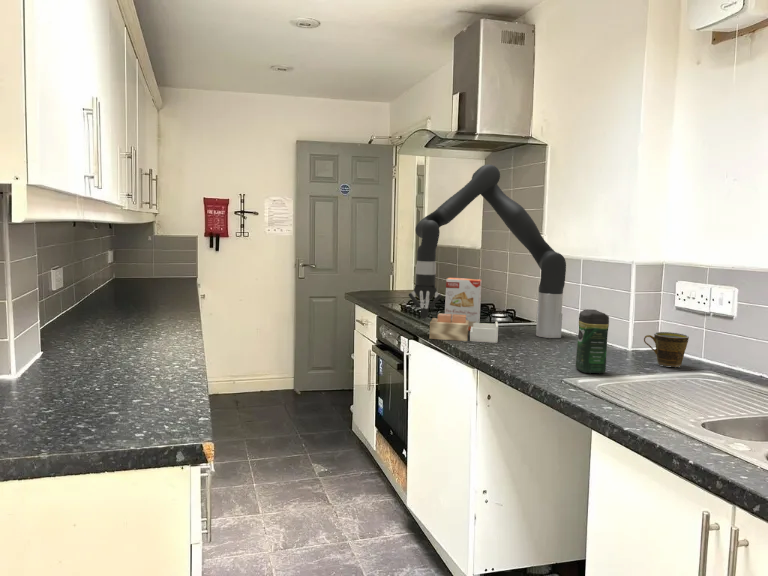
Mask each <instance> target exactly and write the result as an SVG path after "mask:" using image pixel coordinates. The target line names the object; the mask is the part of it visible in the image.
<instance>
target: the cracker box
mask: <svg viewBox="0 0 768 576" xmlns="http://www.w3.org/2000/svg"><path fill="white" fill-rule="evenodd" d="M445 281H446V283H445V302H444V314H452V316H453V314H460V315H466V320H469V327H468V332H470V331H471V327H473V323H481V322H480V320H481V319H480V317H481V303H482V302H481V300H482V281H483V280H482V279H475V278H463V277H462V278H461V277H447V278H446V279H445Z"/></svg>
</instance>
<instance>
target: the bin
mask: <svg viewBox="0 0 768 576" xmlns="http://www.w3.org/2000/svg"><path fill="white" fill-rule="evenodd" d="M498 335H499V322H498V321H495V323H485V322H484V323H481V322H480V323H473V327H471V331H469V342H474V343H475V342H478V343H479V342H480V343H491V344H492V343H493V344H496V343H498V341H499V340H498V339H499V338H498Z"/></svg>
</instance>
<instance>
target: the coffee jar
mask: <svg viewBox="0 0 768 576" xmlns="http://www.w3.org/2000/svg"><path fill="white" fill-rule="evenodd" d="M577 324H578V329H577V330H578V331H577V332H578V334H577V344H576V345H577V346H576V356H575V357H576V358H575V368H576V369H577V370H578V371H579V372H582V373H586V374H587V373H588V374H591V373H599V374H605V372H606V367H607V348H608V336H609V326H610V316H609V315H608V314H606V313H604V312H602V311H600V310H597V309H586V308H585V309H583V310H582V311H580V312H579V313H578V323H577Z"/></svg>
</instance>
